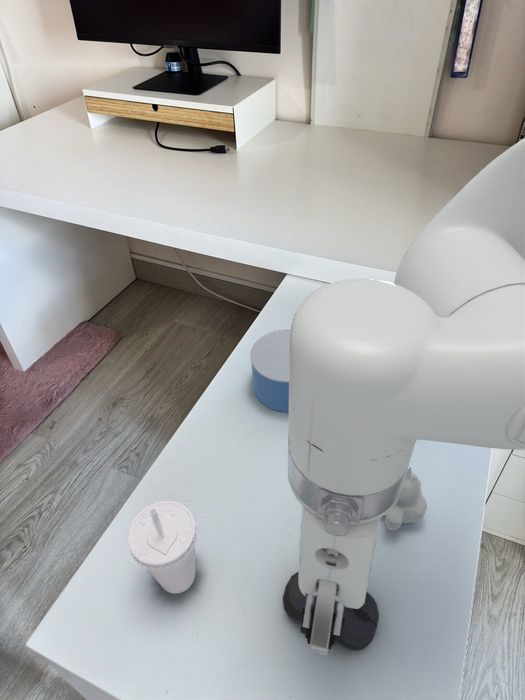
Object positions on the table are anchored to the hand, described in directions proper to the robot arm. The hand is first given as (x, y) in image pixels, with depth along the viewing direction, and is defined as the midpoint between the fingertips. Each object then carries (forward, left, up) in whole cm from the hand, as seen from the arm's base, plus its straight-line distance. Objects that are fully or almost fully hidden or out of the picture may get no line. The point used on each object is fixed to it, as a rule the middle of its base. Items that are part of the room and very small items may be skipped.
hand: (328, 574), depth 44 cm
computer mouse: (0, 0, -9) cm, 9 cm away
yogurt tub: (+10, -29, -8) cm, 32 cm away
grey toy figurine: (-6, -12, -9) cm, 16 cm away
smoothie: (+16, 0, -9) cm, 18 cm away
